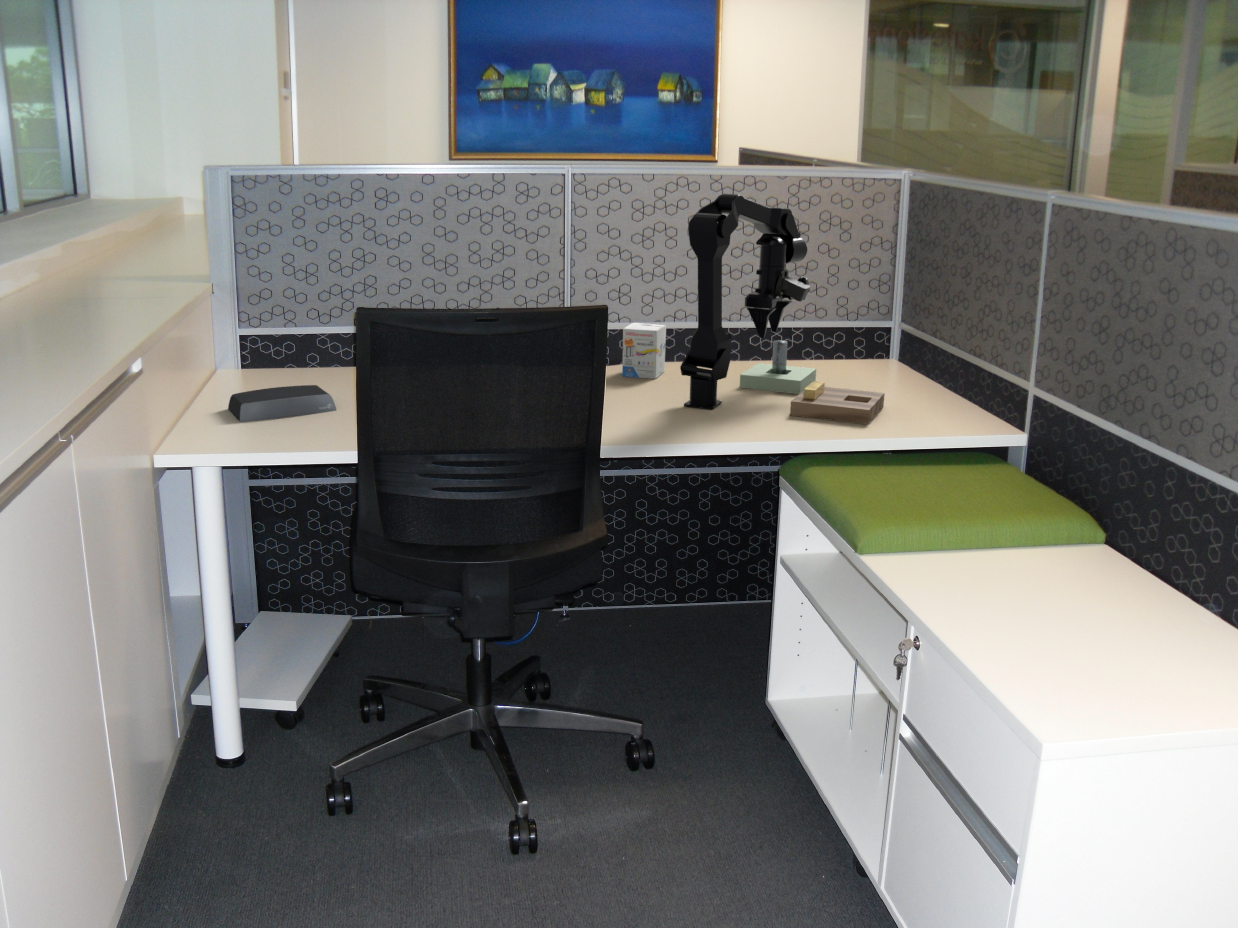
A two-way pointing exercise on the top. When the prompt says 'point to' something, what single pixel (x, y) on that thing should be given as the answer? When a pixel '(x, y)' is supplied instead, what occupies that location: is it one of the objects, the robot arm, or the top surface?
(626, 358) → the ink box
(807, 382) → the green slotted base
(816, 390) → the yellow wooden bar
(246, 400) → the external hard drive
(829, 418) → the socket block
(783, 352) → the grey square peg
